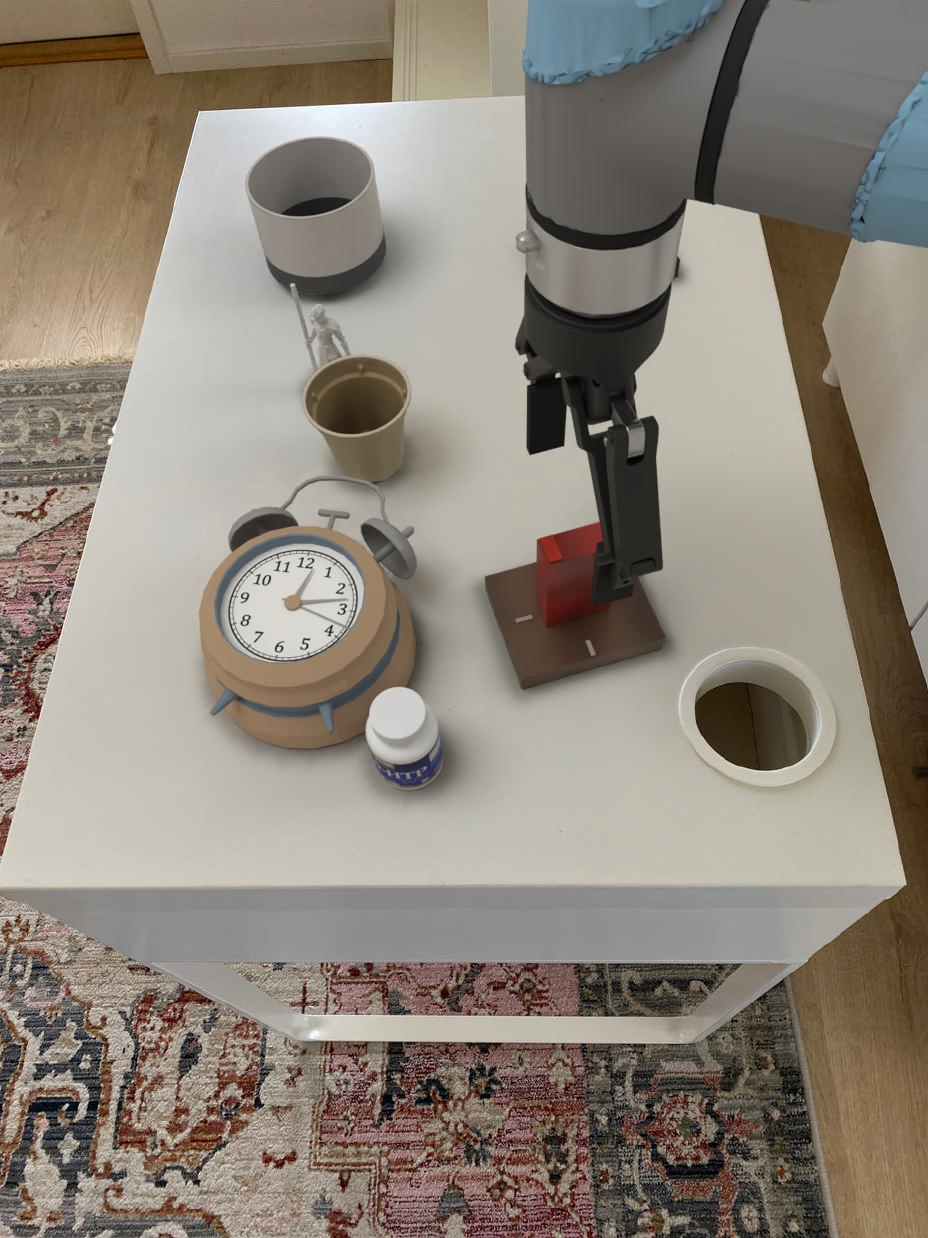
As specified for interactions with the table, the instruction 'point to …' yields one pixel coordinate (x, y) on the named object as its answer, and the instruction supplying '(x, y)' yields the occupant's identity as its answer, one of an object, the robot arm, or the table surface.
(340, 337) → the figurine
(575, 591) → the red rectangular block
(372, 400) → the flower pot
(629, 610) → the base plate
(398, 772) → the pill bottle
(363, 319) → the table surface
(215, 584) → the alarm clock
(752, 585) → the table surface
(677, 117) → the robot arm
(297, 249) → the planter
